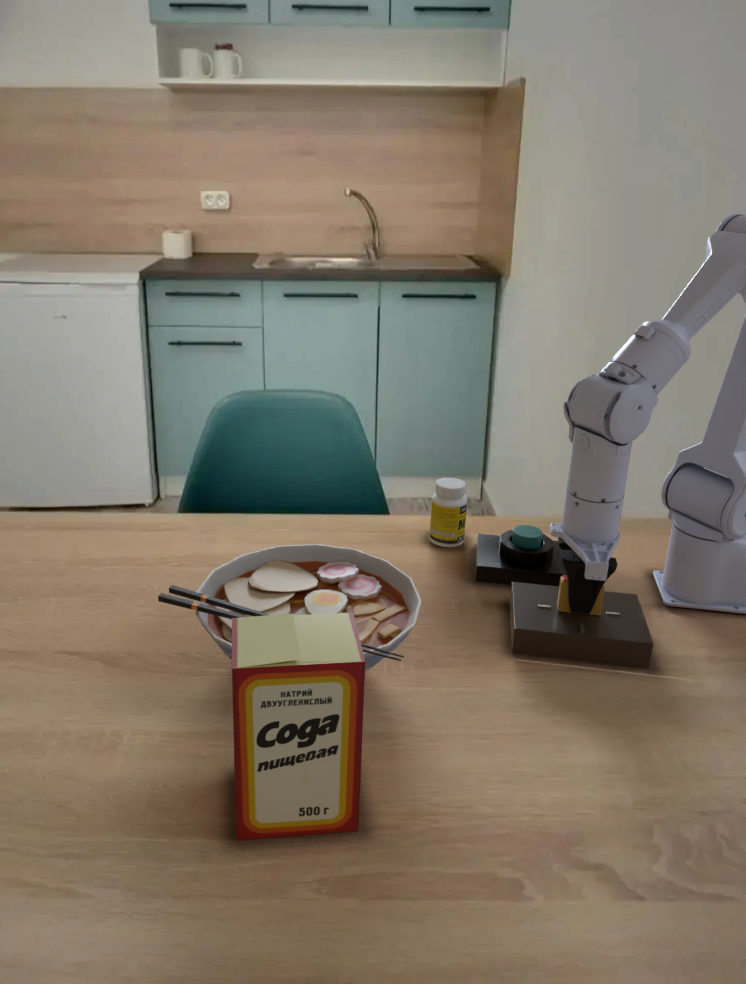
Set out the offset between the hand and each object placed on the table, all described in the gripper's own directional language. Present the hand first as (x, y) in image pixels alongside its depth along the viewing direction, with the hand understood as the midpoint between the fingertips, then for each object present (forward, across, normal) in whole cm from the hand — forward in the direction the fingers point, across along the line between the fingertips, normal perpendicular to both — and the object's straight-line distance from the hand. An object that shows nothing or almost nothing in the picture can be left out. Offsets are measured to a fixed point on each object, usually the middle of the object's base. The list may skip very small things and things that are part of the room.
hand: (578, 606), depth 90 cm
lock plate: (+3, 0, 0) cm, 3 cm away
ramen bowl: (+4, +10, -28) cm, 30 cm away
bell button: (0, -14, -5) cm, 15 cm away
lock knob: (0, 0, 0) cm, 0 cm away
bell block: (+3, -14, -5) cm, 15 cm away
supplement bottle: (+4, -20, -15) cm, 25 cm away
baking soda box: (+4, +30, -25) cm, 39 cm away
